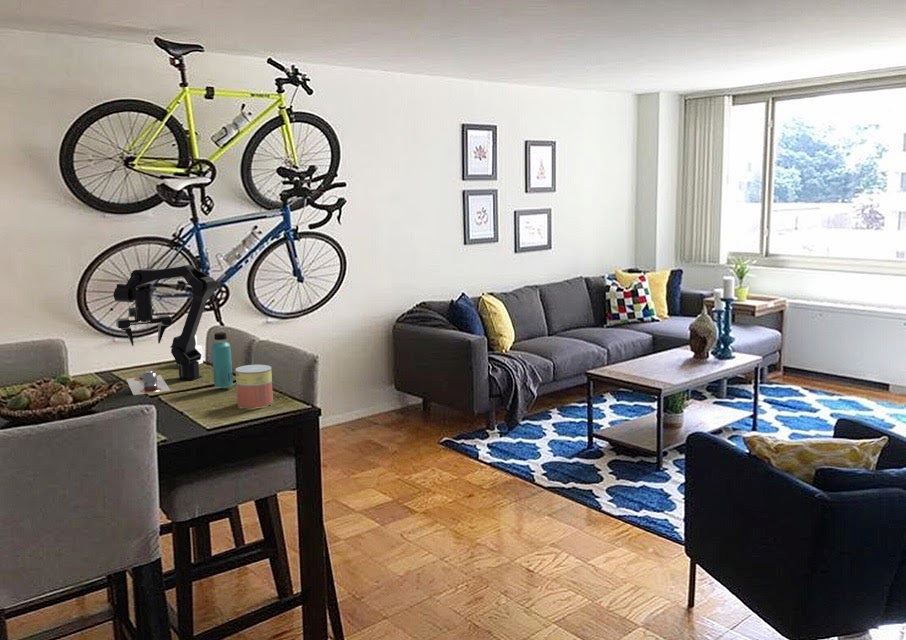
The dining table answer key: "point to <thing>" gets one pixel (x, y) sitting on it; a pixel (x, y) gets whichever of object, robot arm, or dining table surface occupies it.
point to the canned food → (254, 385)
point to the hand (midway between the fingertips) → (145, 344)
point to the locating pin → (150, 381)
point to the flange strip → (138, 386)
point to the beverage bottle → (222, 361)
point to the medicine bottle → (199, 349)
